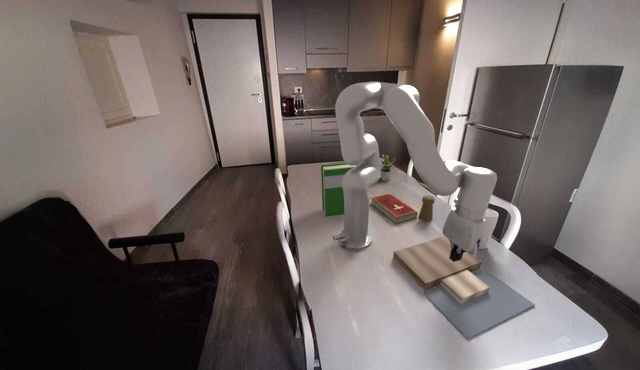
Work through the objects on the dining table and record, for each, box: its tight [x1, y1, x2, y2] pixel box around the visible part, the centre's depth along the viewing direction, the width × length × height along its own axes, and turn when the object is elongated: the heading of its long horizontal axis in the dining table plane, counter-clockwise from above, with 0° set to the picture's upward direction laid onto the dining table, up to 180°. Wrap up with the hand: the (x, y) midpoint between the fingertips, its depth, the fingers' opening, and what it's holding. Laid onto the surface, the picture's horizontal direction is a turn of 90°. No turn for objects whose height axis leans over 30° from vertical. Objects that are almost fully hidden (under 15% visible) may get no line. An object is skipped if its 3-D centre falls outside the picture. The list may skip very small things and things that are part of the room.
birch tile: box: [439, 270, 490, 303], centre depth 77 cm, size 11×8×2 cm
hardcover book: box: [370, 193, 418, 224], centre depth 122 cm, size 12×21×4 cm, turn 21°
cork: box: [418, 195, 436, 222], centre depth 113 cm, size 6×6×11 cm
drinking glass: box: [477, 207, 499, 250], centre depth 93 cm, size 7×7×15 cm
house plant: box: [380, 153, 396, 182], centre depth 155 cm, size 14×14×16 cm
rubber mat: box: [422, 267, 535, 340], centre depth 74 cm, size 26×16×1 cm, turn 111°
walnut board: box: [392, 235, 483, 291], centre depth 88 cm, size 24×16×3 cm, turn 111°
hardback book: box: [320, 162, 357, 218], centre depth 119 cm, size 18×7×24 cm, turn 101°
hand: (454, 259), depth 79 cm, fingers closed
